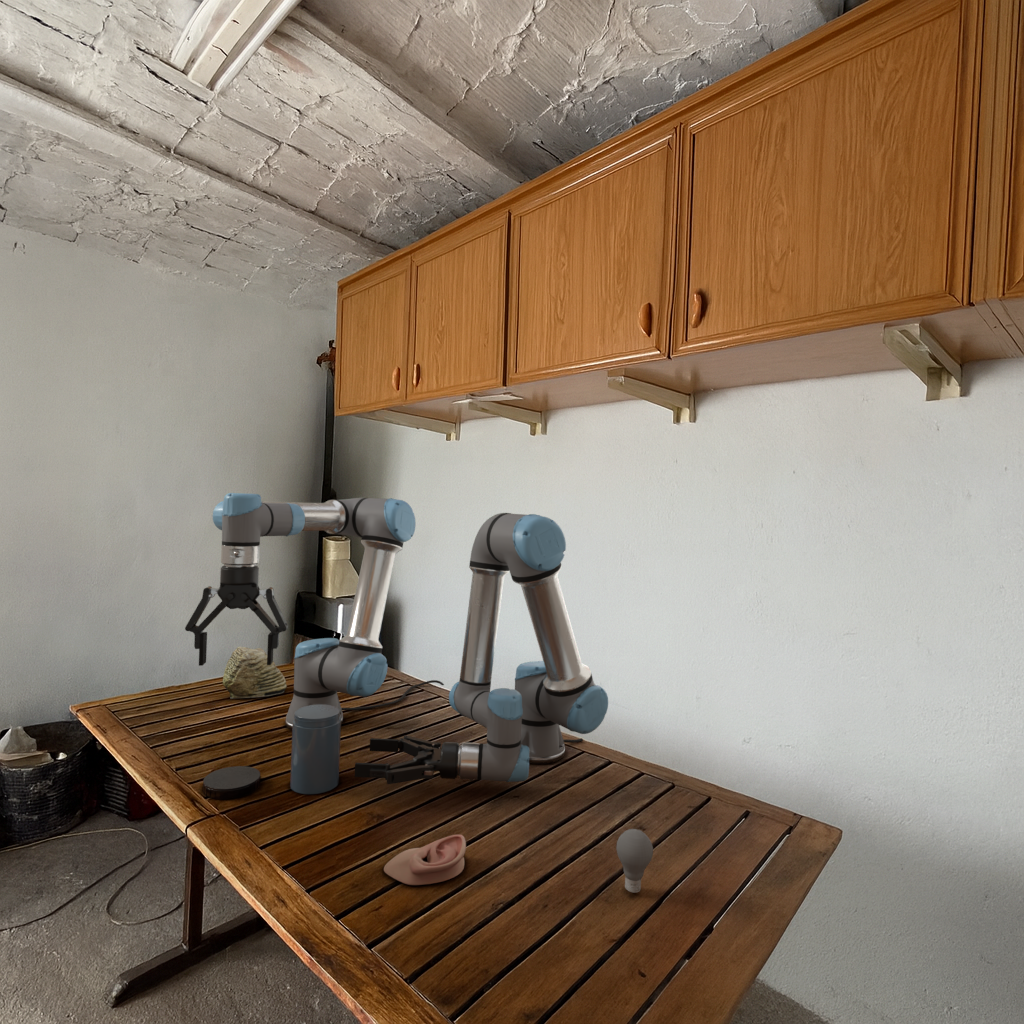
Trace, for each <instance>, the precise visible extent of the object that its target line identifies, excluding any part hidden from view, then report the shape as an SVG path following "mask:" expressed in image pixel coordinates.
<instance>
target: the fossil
mask: <svg viewBox="0 0 1024 1024" xmlns="http://www.w3.org/2000/svg"><path fill="white" fill-rule="evenodd" d="M222 676H223V677H222V685H223V687H224V688H225V690H226V691H228V693H229V698H230V699H250V698H264V697H271V696H275V695H281V694H284V693H285V691H286V689H287V687H288V686H287V680H286V678H285V676H284V674H283V673H282V672H281V669H279V668H278V667H277V665H276V663H275V662H274V660H273V662H272V664H271V665H267V652H265V650H264V649H263V648H260V647H258V648H251V647H247V646H246V647H245V646H238V647H237V648H236V649H235V650H233V651H232V653H231V656H230V657H229V659H228V660H227V663H226V666H225V668H224V671H223V675H222Z"/></svg>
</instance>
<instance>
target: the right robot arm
mask: <svg viewBox="0 0 1024 1024" xmlns="http://www.w3.org/2000/svg"><path fill="white" fill-rule="evenodd" d="M566 549H567V542H566V537H565V534H564V531H563V529H562V528H561V526H560V525H559V524H558V523H557V522H556V521H555V520H553V519H552V518H550V517H547V516H543V515H540V514H535V513H530V514H524V513H523V514H522V513H521V514H520V513H511V512H500V513H496V514H493V515H491V517H489V518H487V519H486V520H485V521H484V522H483V523H482V524H481V526H480V528H479V529H478V531H477V533H476V535H475V538H474V540H473V544H472V548H471V551H470V559H469V566H468V568H469V569H470V571H471V572H472V575H471V583H470V591H469V599H468V608H467V615H466V625H465V632H464V633H465V634H464V640H463V648H462V656H461V664H460V673H459V680H458V681H457V682H456V683H454V684H453V686H452V687H451V689H450V690H449V693H448V702H449V704H450V707H451V708H452V709H453V711H456V712H457V713H458V714H460V716H462V717H466V718H468V719H470V720H472V721H474V722H475V723H477V724H478V725H480V726H482V727H484V728H486V743H480V742H462V743H461V744H460V743H459V742H457V741H456V742H454V741H452V742H451V741H444V742H443V743H441V742H440V741H430V740H426V739H423V738H419V737H415V736H411V735H403V737H401V738H398V739H397V738H377V737H376V738H375V737H374V738H373V737H371V738H370V739H369V752H380V753H381V752H383V753H398V754H402V753H405V754H407V755H409V756H411V757H413V758H412V759H409V760H406V761H401V762H398V763H394V764H392V765H391V764H390V763H388V762H386V763H375V762H373V763H372V762H355V763H354V778H371V779H385V781H386V784H387V785H395V784H399V783H400V784H401V783H406V782H412V781H418V780H431V779H432V780H433V779H434V777H435V775H434V774H435V772H439V776H440V778H441V779H444V780H456V779H457V778H458V777H459V779H460V780H469V782H474V781H493V782H506V783H513V782H514V783H516V782H525V781H527V779H528V778H529V775H530V764H533V765H544V764H545V765H547V764H551V763H556V762H558V761H561V759H563V758H564V757H565V755H566V754H565V753H566V745H565V743H566V744H568V743H569V744H570V743H571V744H578V743H581V742H583V741H584V739H583V738H578V739H577V738H576V739H565V738H564V737H563V733H562V729H561V727H563V728H565V729H567V730H569V732H574V733H578V734H579V735H580V734H581V735H587V734H590V733H592V732H594V731H595V730H596V729H598V728H599V727H600V725H601V724H602V723H603V722H604V719H605V718H606V717H605V716H606V715H607V712H608V708H609V696H608V693H607V691H606V690H605V689H604V688H603V687H602V686H601V685H598V684H595V681H594V678H593V674H592V671H591V668H590V667H589V666H588V665H587V664H584V663H583V662H582V659H581V655H580V652H579V648H578V644H577V640H576V637H575V633H574V630H573V626H572V623H571V620H570V619H571V618H570V616H569V612H568V608H567V605H566V600H565V598H564V593H563V590H562V586H561V583H560V580H559V577H558V576H559V573H560V571H561V570H562V567H563V566H562V562H563V560H564V558H565V554H564V552H565V551H566ZM508 574H510V577H511V579H512V582H513V583H514V584H515V583H516V584H517V585H520V587H521V590H522V594H523V597H524V600H525V603H526V607H527V611H528V614H529V616H530V621H531V625H532V627H533V631H534V634H535V638H536V641H537V645H538V647H539V651H540V654H541V658H542V660H536V661H535V660H534V661H527V662H523V663H520V664H519V665H518V666H517V667H516V670H515V677H514V689H513V688H512V689H511V688H508V687H507V688H506V687H499V688H494V689H492V690H491V686H492V677H493V669H494V661H495V653H496V645H497V637H498V630H499V623H500V622H499V621H500V615H501V605H502V598H503V596H502V595H503V590H504V583H505V576H506V575H508ZM560 726H561V727H560Z"/></svg>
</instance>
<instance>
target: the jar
mask: <svg viewBox="0 0 1024 1024" xmlns="http://www.w3.org/2000/svg"><path fill="white" fill-rule="evenodd" d="M294 718H295V719H294V720H293V724H292V729H291V752H290V753H291V754H290V778H289V780H290V782H289V787H290V789H291V791H293V792H294V793H298V794H303V795H317V794H322V793H327V792H329V791H332V790H333V789H335V788H336V787H337V786H338V785H339V781H340V763H341V760H340V759H341V737H342V735H341V733H342V723H341V717H340V710H339V708H337V707H335V706H332V705H323V704H319V705H309V706H305V707H302V708H299V709H297V710H296V711H295V713H294Z"/></svg>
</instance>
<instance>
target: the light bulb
mask: <svg viewBox="0 0 1024 1024" xmlns="http://www.w3.org/2000/svg"><path fill="white" fill-rule="evenodd" d="M615 849H616V854H617V857H618V859H619V861H620V863H621V865H622V867H623V873H624V874H623V875H624V876H625V878H624V888H625V890H627V891H628V892H630V893H634V894H635V893H639V892H640V891H641V889H642V887H641V886H642V879H643V877H644V875H645V871H646V868H647V867H648V866H649V864H650V863H651V861H652V859H653V855H654V847H653V843H652V841H651V838H649V836H648V835H647V834H646V833H645V832H643V831H642V830H641V829H636V828H629V829H627V830H625V831H623V832H622V833H621V834H620V835H619V837H618V839H617V841H616V847H615Z"/></svg>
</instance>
